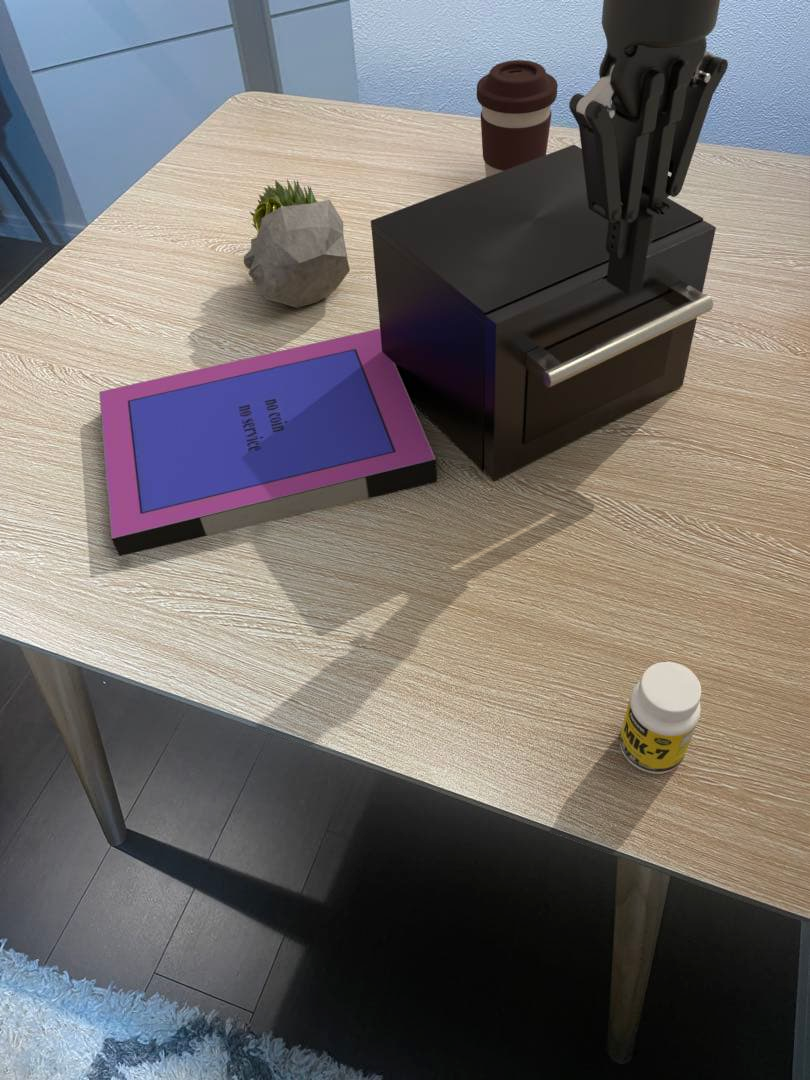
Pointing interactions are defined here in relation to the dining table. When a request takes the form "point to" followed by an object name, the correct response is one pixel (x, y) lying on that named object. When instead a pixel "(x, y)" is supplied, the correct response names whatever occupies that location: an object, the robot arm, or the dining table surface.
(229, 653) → the dining table surface
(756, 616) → the dining table surface
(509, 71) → the coffee cup
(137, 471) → the book
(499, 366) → the oven door
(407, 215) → the oven
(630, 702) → the supplement bottle
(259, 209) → the potted plant
